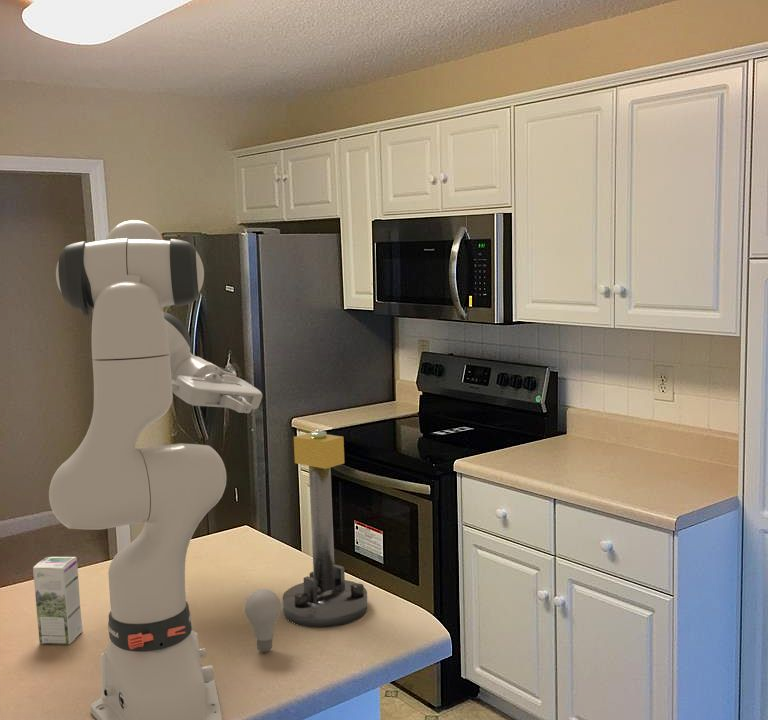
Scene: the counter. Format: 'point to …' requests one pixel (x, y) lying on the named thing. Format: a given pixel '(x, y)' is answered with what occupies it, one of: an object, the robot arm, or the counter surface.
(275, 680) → the counter surface
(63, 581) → the syrup box
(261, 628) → the lightbulb
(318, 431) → the instrument mast
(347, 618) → the tribrach base
